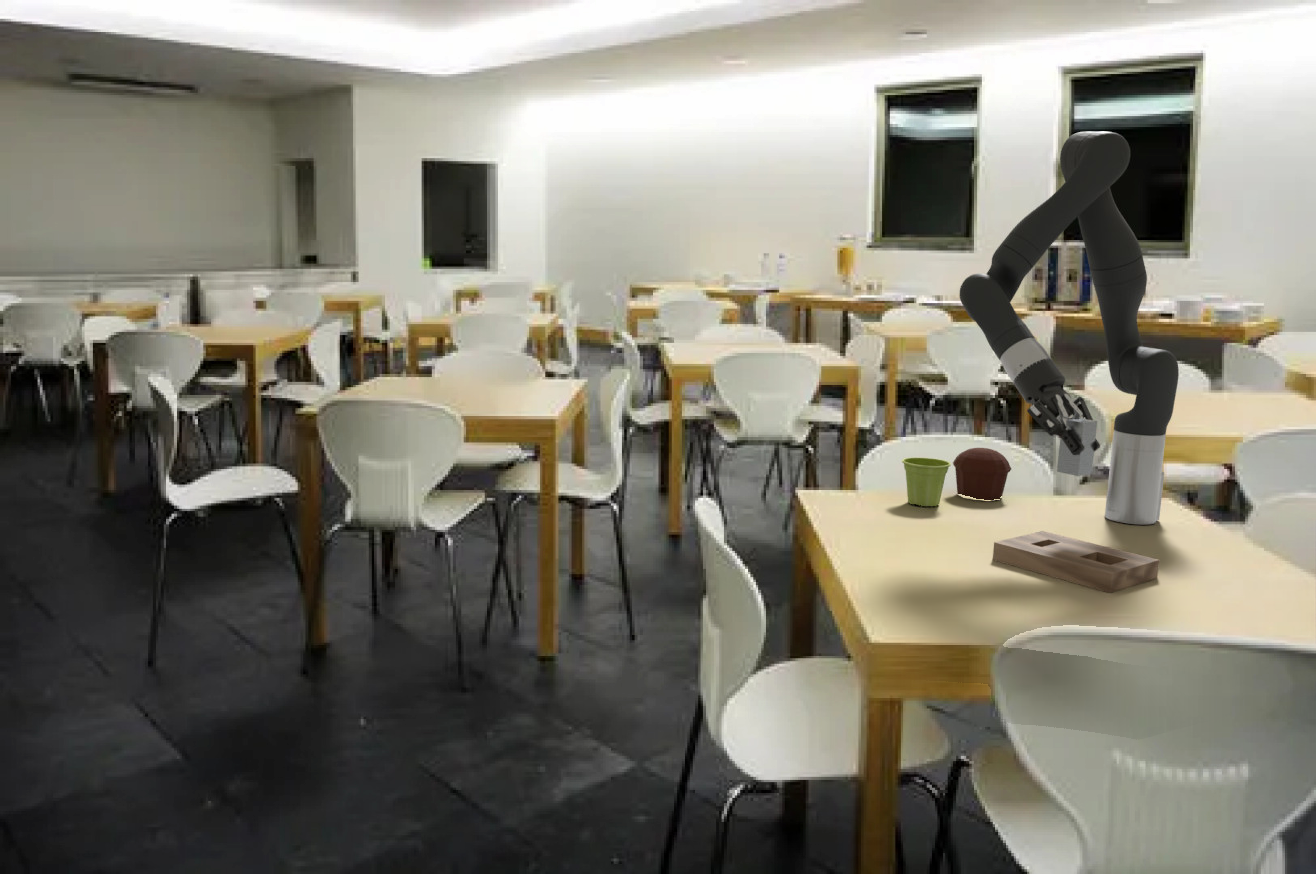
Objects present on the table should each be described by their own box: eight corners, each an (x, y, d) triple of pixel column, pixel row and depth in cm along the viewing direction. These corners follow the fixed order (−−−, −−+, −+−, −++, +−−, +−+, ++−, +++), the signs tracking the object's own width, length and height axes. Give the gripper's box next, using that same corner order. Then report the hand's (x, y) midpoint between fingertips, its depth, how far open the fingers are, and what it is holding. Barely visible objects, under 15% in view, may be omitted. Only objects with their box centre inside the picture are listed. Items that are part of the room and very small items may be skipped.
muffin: (1012, 495, 239) (1016, 448, 238) (1004, 505, 229) (1009, 456, 228) (955, 488, 244) (958, 442, 243) (945, 498, 234) (948, 450, 233)
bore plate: (1041, 547, 198) (1042, 530, 198) (1157, 578, 182) (1159, 560, 182) (992, 559, 190) (994, 542, 189) (1110, 592, 173) (1112, 573, 173)
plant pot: (892, 499, 232) (895, 457, 231) (935, 498, 234) (938, 456, 232) (910, 509, 223) (913, 466, 221) (955, 509, 225) (958, 466, 223)
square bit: (1070, 469, 196) (1075, 417, 194) (1091, 473, 193) (1097, 421, 191) (1056, 471, 193) (1062, 419, 192) (1078, 476, 190) (1083, 422, 189)
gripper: (1021, 358, 191) (1079, 441, 184) (1070, 355, 200) (1127, 435, 192) (992, 385, 196) (1047, 468, 189) (1041, 381, 205) (1095, 460, 197)
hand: (1087, 450), depth 191 cm, fingers closed on square bit, 4 cm apart
